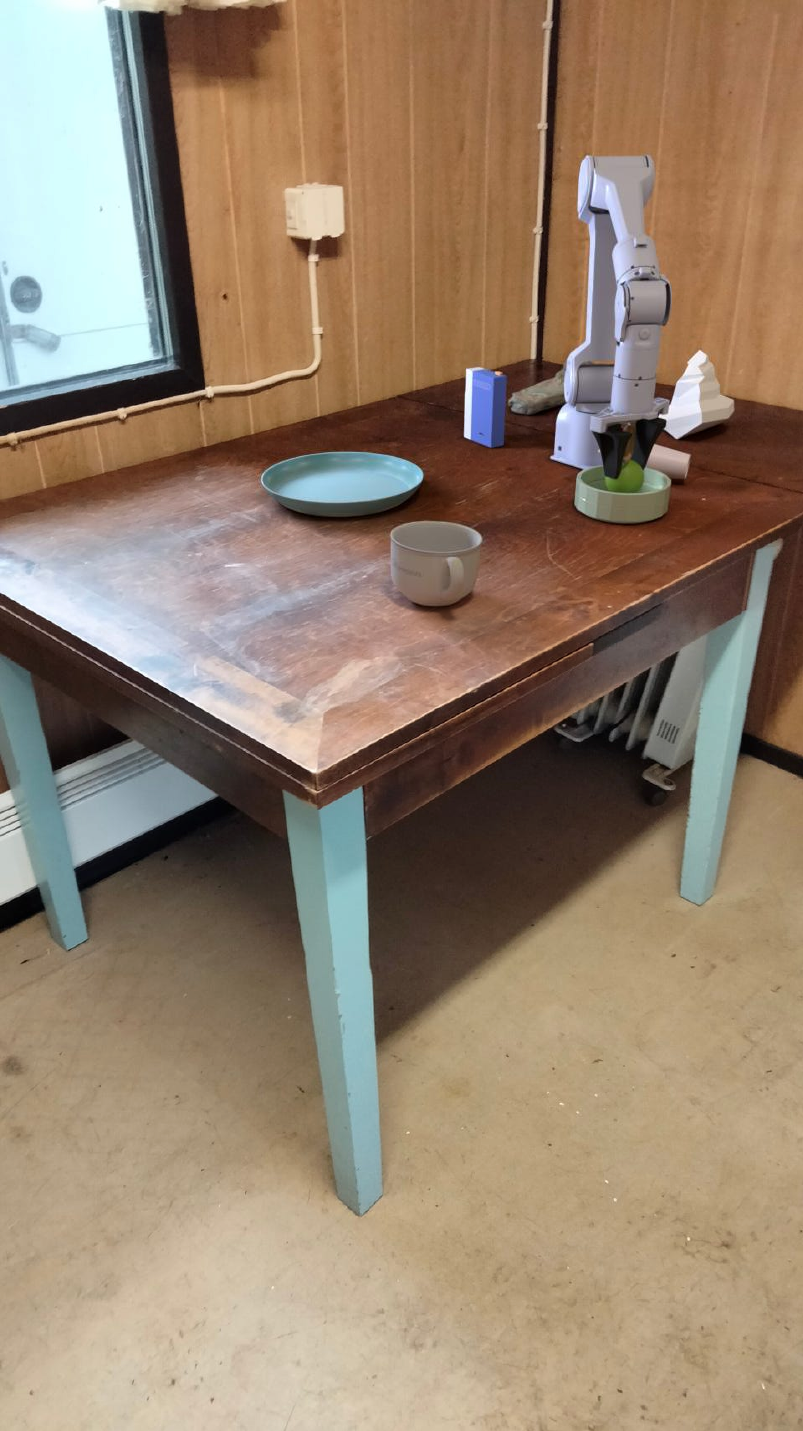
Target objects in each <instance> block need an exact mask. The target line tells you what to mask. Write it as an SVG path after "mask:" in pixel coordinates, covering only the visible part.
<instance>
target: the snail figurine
mask: <svg viewBox="0 0 803 1431" xmlns="http://www.w3.org/2000/svg"><path fill="white" fill-rule="evenodd" d="M636 422H637V421H634V422H630V423H627V424H626V425H625V426H624V427H623V431H625V432H629V433H632V436H631V438H630V440H629V442H628V444H627V447H626V449H625V453H624V456H623V462H622V467H621V472H620V475H619V477H618V479H612V478H609V477H606V476H605V483H606V486H607V488H608V490H609V491H610V492H615V493H637V492H638V491H639V490H640V489H641V487H642V485H643V482H644V473H643V470H642V468H641V466H640V465H639V464H638V463H637V462H635V461H633V460H630V459H631V457H632V455H633V452H634V443H635V431H636Z"/></svg>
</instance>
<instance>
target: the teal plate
mask: <svg viewBox="0 0 803 1431" xmlns="http://www.w3.org/2000/svg"><path fill="white" fill-rule="evenodd" d="M423 480H424V472H423V470H422V469H421V467H419V466H418V465H416V463H414V462H411V461H409V460H407V459H403V458H401V457H397V456H393V455H389V454H382V453H373V452H362V451H331V452H321V453H320V452H319V453H313V454H307V455H306V454H305V455H301V456H297V457H293V458H288V459H285V460H282V461H279V462H278V463H275V464H273V465H271V466H270V467H269V468H267V469H266V470H264V471H263V473H262V474H261V477H260V482H261V484H262V486H263V488H264V490H265V491H266V492H267V494H268V495H269V496H270V497H271V498H272V499H274V501H276V502H277V503H278V504H280V505H282V506H284V507H285V508H287V509H290V510H291V511H294V512H297V513H301V514H304V515H310V516H317V517H328V518H329V517H330V518H351V517H361V516H367V515H373V514H377V513H382V512H386V511H388V510H390V509H393V508H396V507H397V506H399V505H401V504H402V503H404V502H406V501H407V500H408V499H409V498H411V497H412V496H413V495H414V494H415V493H416V492H417V490H418V489H419V488H420V486H421V484H422V482H423Z"/></svg>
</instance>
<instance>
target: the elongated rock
mask: <svg viewBox="0 0 803 1431" xmlns="http://www.w3.org/2000/svg"><path fill="white" fill-rule="evenodd" d="M591 364H596V363H595V362H593V361H587V362H584V363H582V364H581V365H591ZM597 364H603V363H602V362H601V363H600V362H598V363H597ZM566 368H567V359H566V360H565V361H564V363H563V364H562V369H561V370H559V371H557V372H556V373H555V376H554V377H552V378H550V379H549V378H548V379H546V380H543V381H541V382H538V383H536V384H534V385H531V386H529V387H526V388H523V389H521V390H520V391H519V390H518V391H515V392H512V396H511V397H510V398H509V399H508V402H507V406H508V407H510V410H511V412H514V413H516V414H519V415H524V416H525V415H526V416H531V415H532V416H533V415H536V414H538V412H542V411H544V410H545V411H546V410H549V409H551V408H556V407H560V406H564V405H565V404H567V402H566V401H565V396H564V379H565V373H566Z"/></svg>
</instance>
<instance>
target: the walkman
mask: <svg viewBox="0 0 803 1431" xmlns="http://www.w3.org/2000/svg"><path fill="white" fill-rule="evenodd" d="M507 378H508V376H507V375H505V374H503V372H502V371H499V370H497V371H493V370H490V369H487V368H484V367H481V366H476V367H468V368H465V391H464V420H463V421H464V423H463V424H464V425H463V426H464V427H463V438H466V439H468V440H470V441H473V442H475V443H478V444H480V445H483V446H486V447H488V448H490V449H492V448H497V447H501V446H504V445H505V425H506V424H505V422H506V421H505V420H506V402H507V401H506V399H507V381H508V380H507Z"/></svg>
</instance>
